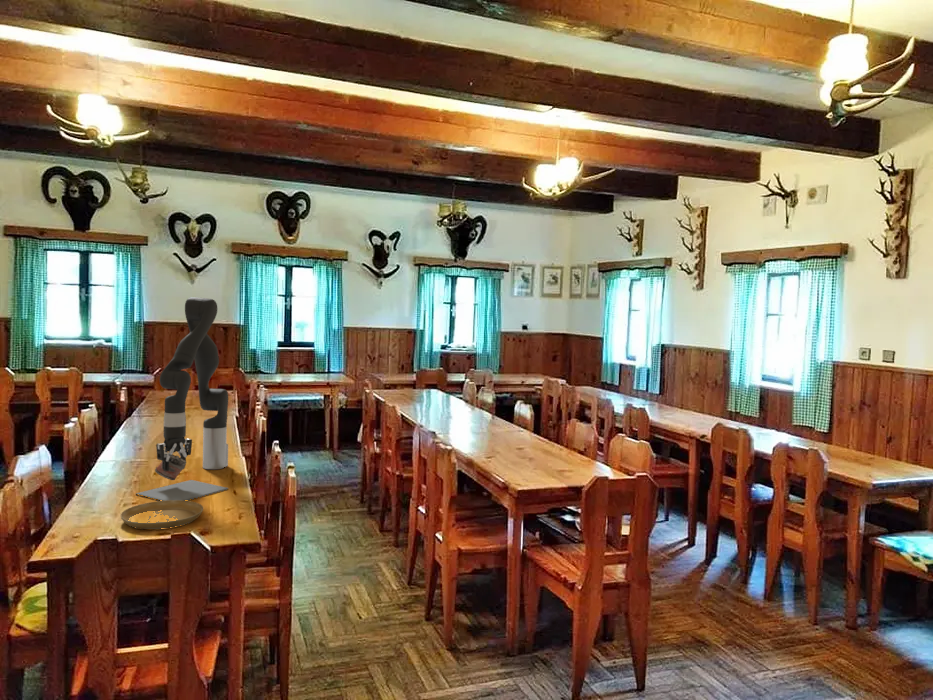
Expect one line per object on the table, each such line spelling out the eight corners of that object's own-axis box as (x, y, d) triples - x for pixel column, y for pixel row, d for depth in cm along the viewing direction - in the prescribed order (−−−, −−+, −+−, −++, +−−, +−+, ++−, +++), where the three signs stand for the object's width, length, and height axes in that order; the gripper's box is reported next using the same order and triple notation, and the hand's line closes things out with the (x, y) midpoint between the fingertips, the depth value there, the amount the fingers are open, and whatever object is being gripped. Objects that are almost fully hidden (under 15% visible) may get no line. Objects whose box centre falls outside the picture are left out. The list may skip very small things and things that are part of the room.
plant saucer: (113, 535, 204) (113, 524, 204) (128, 511, 227) (128, 501, 227) (199, 530, 211) (200, 520, 211) (205, 508, 234) (206, 498, 234)
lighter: (153, 472, 253) (166, 456, 249) (156, 466, 255) (169, 449, 252) (174, 482, 256) (187, 466, 252) (176, 475, 259) (189, 459, 255)
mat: (191, 481, 266) (191, 479, 266) (228, 489, 257) (228, 487, 257) (135, 495, 245) (135, 493, 245) (173, 504, 236) (173, 502, 236)
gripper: (164, 428, 244) (164, 474, 245) (197, 423, 257) (197, 467, 258) (150, 425, 248) (150, 471, 249) (184, 420, 260) (183, 464, 261)
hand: (174, 469), depth 253 cm, fingers closed on lighter, 6 cm apart
